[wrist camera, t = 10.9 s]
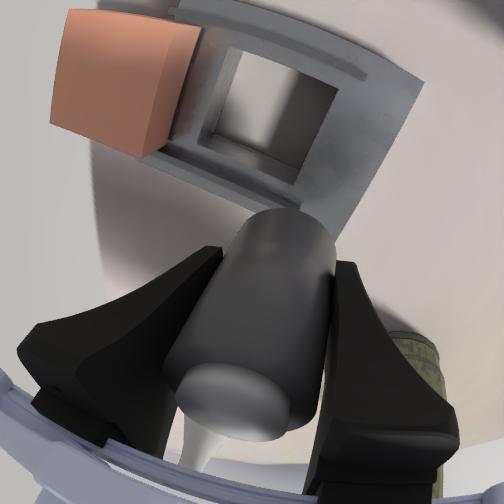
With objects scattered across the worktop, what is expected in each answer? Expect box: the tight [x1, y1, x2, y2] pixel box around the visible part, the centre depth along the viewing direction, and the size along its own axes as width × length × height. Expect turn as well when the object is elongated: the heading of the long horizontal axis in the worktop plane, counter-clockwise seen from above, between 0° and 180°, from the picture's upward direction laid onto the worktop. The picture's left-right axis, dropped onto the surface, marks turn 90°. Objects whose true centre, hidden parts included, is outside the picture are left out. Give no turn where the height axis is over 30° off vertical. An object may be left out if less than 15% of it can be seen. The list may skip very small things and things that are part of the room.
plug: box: [163, 208, 336, 442], centre depth 10 cm, size 4×4×7 cm
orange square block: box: [50, 9, 202, 159], centre depth 13 cm, size 6×6×2 cm
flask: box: [178, 414, 228, 473], centre depth 32 cm, size 7×7×10 cm
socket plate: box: [137, 0, 425, 243], centre depth 15 cm, size 12×10×3 cm
